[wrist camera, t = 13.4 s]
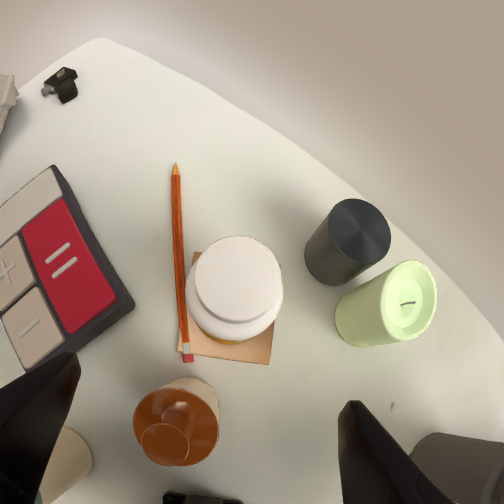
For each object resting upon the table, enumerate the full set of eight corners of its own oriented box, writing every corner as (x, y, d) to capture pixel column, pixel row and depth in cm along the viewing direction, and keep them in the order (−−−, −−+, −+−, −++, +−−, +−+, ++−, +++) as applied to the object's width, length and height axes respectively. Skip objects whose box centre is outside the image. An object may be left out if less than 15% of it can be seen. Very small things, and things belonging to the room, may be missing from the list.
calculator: (23, 379, 15) (-31, 228, 17) (48, 375, 19) (-8, 243, 21) (125, 299, 18) (51, 157, 21) (139, 307, 22) (67, 180, 25)
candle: (389, 340, 23) (451, 329, 15) (338, 352, 22) (393, 347, 15) (379, 286, 25) (435, 256, 17) (329, 293, 24) (377, 263, 16)
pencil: (183, 362, 21) (182, 362, 20) (171, 164, 27) (171, 160, 26) (194, 361, 21) (193, 362, 20) (180, 163, 27) (179, 159, 26)
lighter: (90, 72, 28) (59, 96, 26) (93, 83, 30) (64, 107, 28) (62, 63, 29) (35, 84, 27) (65, 73, 31) (39, 94, 29)
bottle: (454, 429, 20) (570, 438, 6) (440, 478, 18) (546, 507, 4) (414, 434, 20) (543, 457, 6) (399, 487, 18) (510, 537, 4)
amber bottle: (215, 434, 19) (213, 497, 9) (158, 424, 19) (111, 474, 9) (222, 382, 21) (225, 406, 10) (164, 371, 20) (118, 384, 10)
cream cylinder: (94, 485, 16) (36, 538, 6) (44, 464, 16) (-25, 496, 6) (94, 436, 18) (25, 475, 8) (44, 415, 17) (-36, 432, 7)
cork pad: (268, 364, 22) (269, 364, 21) (177, 351, 21) (176, 351, 21) (279, 266, 24) (280, 265, 24) (194, 252, 24) (194, 251, 24)
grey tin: (356, 289, 24) (392, 269, 19) (302, 281, 24) (327, 257, 19) (357, 236, 26) (388, 206, 21) (305, 226, 26) (328, 191, 20)
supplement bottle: (181, 296, 22) (157, 255, 13) (241, 263, 24) (256, 203, 15) (217, 358, 21) (217, 360, 12) (277, 321, 22) (318, 295, 13)
